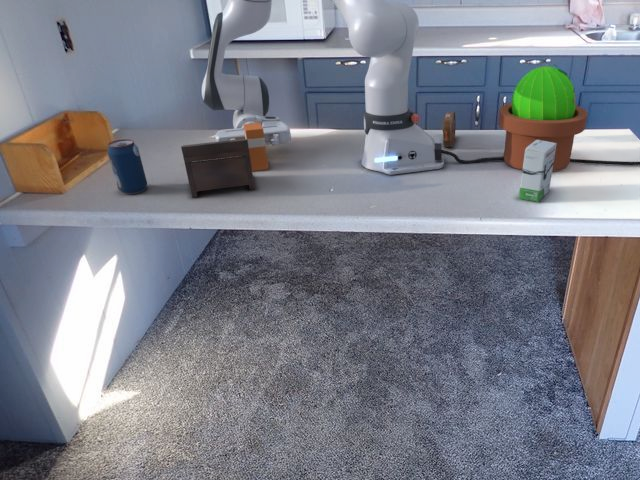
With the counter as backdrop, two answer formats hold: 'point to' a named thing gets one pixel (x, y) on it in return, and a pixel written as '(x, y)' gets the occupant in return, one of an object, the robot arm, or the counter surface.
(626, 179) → the counter surface
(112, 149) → the soda can
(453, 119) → the tin
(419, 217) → the counter surface
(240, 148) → the brown wooden cabinet
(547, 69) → the potted cactus
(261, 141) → the packet
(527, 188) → the ink box
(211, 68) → the robot arm
